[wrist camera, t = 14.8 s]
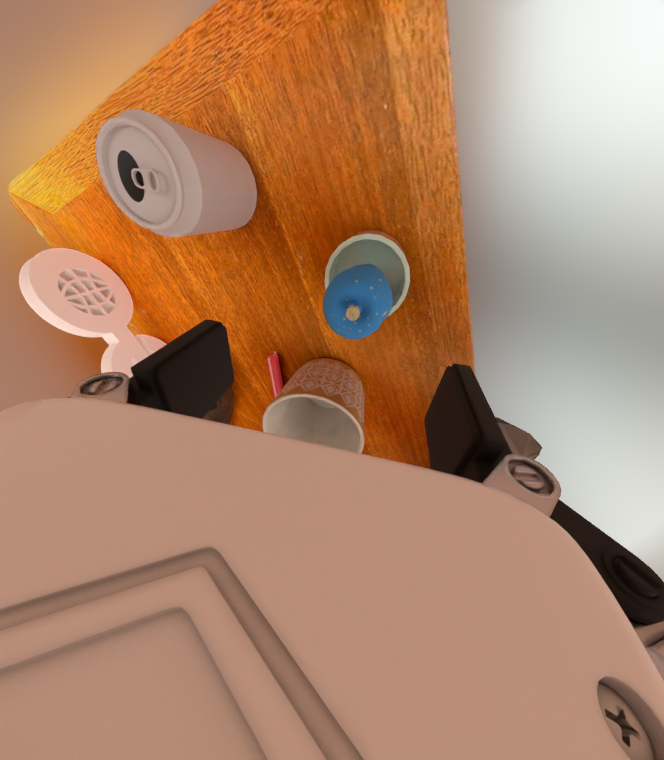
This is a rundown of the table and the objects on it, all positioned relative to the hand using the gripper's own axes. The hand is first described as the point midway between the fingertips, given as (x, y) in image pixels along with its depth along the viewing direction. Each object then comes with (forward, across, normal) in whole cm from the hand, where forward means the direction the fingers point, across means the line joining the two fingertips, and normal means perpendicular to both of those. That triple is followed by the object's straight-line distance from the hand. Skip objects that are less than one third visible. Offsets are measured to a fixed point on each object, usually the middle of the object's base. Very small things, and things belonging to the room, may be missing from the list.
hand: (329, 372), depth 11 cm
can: (+23, +16, -6) cm, 28 cm away
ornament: (+22, 0, 0) cm, 22 cm away
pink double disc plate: (+22, +32, +12) cm, 41 cm away
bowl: (+22, 0, +1) cm, 22 cm away
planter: (+22, +3, +18) cm, 28 cm away
